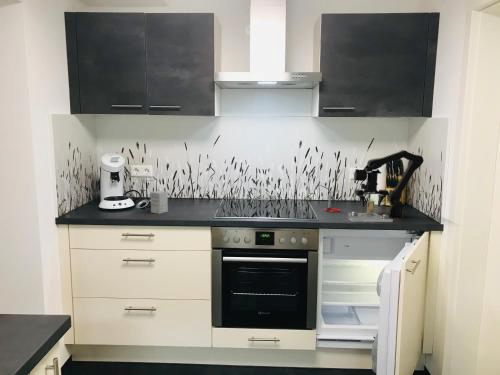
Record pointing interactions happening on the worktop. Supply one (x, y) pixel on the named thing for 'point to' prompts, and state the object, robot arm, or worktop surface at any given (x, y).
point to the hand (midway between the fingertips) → (370, 206)
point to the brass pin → (370, 206)
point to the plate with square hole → (368, 217)
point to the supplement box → (159, 202)
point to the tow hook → (330, 205)
